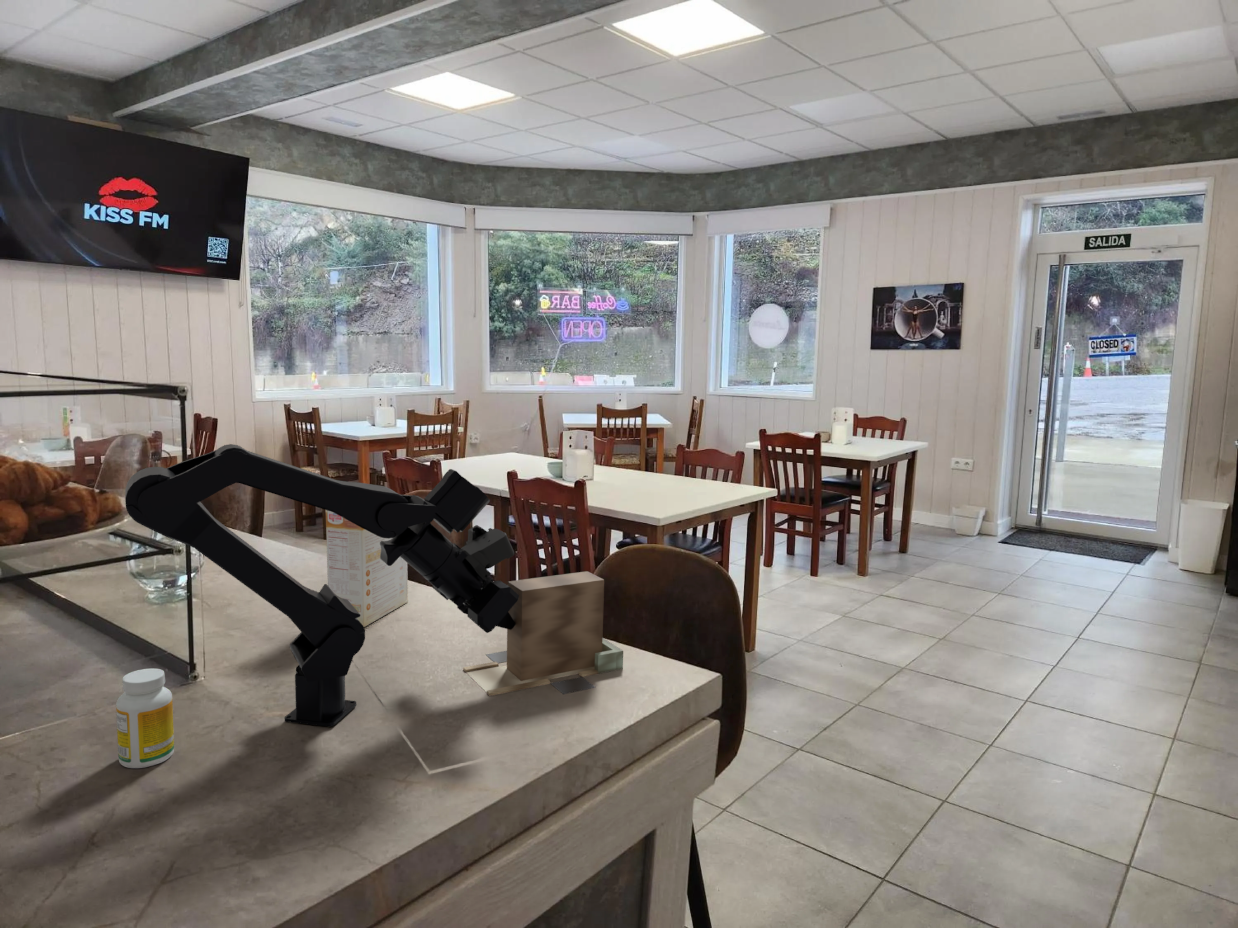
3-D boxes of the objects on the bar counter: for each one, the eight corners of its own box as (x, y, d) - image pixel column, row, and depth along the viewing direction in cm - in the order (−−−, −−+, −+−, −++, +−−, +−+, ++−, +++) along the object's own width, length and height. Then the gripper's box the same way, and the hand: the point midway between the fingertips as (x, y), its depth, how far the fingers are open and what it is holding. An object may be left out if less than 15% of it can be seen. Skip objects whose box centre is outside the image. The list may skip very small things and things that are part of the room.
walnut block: (520, 680, 113) (522, 590, 111) (506, 668, 117) (507, 581, 116) (601, 664, 120) (604, 579, 118) (585, 653, 124) (587, 571, 122)
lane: (501, 709, 105) (501, 687, 104) (453, 661, 120) (453, 642, 120) (637, 680, 115) (638, 659, 115) (577, 639, 131) (578, 621, 130)
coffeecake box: (374, 598, 149) (373, 493, 146) (409, 602, 147) (409, 496, 144) (325, 623, 134) (323, 508, 132) (363, 628, 133) (362, 512, 130)
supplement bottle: (109, 770, 87) (104, 685, 86) (133, 746, 92) (129, 665, 91) (161, 769, 88) (157, 684, 86) (183, 745, 93) (179, 665, 92)
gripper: (504, 526, 101) (580, 600, 108) (453, 500, 117) (523, 566, 124) (443, 595, 98) (525, 666, 105) (399, 559, 114) (473, 623, 121)
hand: (512, 626), depth 114 cm, fingers closed, pressing on walnut block
